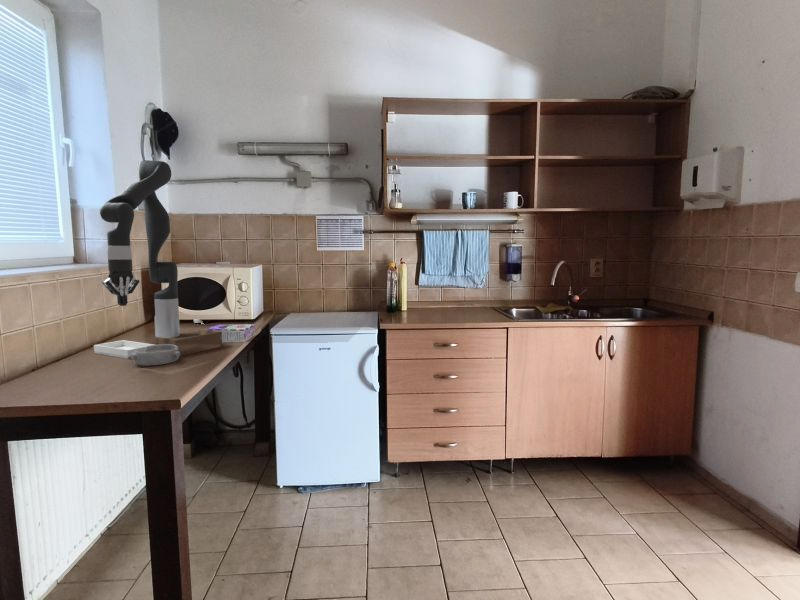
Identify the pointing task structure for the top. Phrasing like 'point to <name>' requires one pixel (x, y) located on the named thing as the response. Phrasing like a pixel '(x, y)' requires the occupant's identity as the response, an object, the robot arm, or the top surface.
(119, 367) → the top surface
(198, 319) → the mug
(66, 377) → the top surface
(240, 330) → the candy box
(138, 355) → the dish
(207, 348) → the bay
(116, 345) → the tray
